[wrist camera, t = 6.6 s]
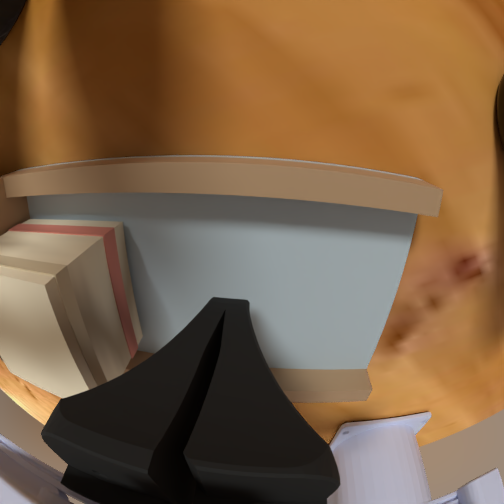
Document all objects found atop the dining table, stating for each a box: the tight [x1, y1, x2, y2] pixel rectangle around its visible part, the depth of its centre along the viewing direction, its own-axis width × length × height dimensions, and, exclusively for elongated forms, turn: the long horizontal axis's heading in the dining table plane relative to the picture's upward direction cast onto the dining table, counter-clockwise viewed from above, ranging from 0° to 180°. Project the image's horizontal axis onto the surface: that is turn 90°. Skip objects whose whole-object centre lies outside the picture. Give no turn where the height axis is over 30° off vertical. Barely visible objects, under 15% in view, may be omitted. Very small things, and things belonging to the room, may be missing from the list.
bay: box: [0, 155, 443, 403], centre depth 11 cm, size 11×19×4 cm, turn 87°
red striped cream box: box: [0, 219, 143, 398], centre depth 10 cm, size 6×6×5 cm
